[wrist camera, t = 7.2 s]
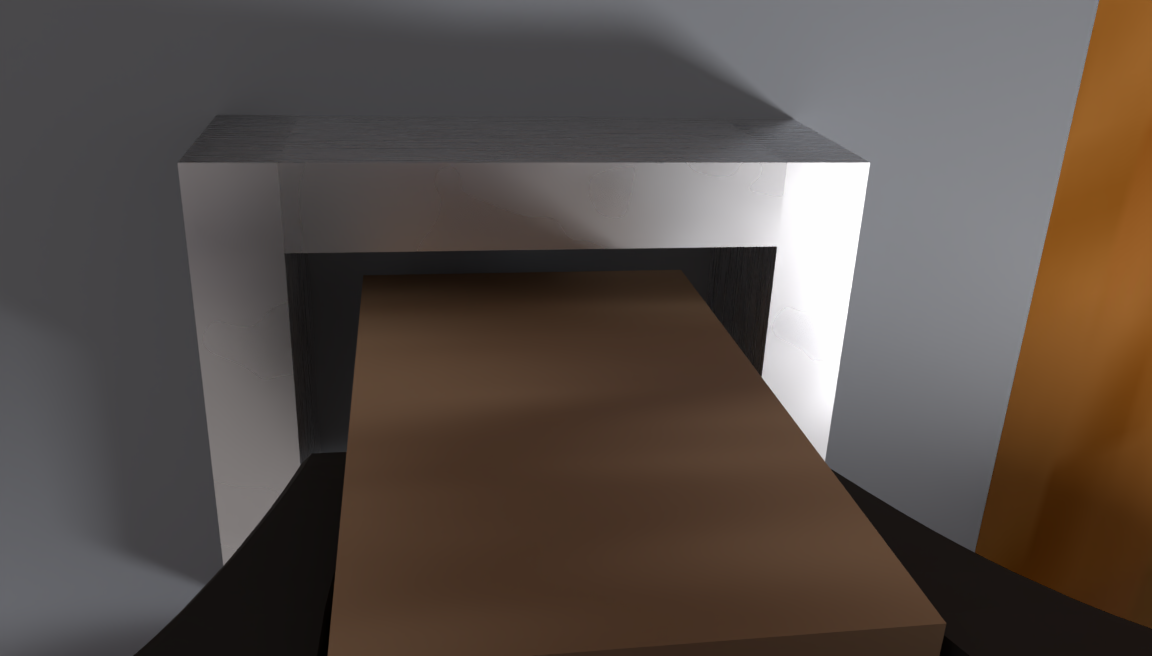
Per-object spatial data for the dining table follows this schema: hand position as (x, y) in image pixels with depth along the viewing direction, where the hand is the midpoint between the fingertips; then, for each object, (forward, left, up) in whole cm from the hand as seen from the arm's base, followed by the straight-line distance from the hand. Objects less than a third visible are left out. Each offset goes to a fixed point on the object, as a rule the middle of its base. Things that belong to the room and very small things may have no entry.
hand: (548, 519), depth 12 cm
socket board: (0, 0, -4) cm, 4 cm away
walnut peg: (0, 0, -2) cm, 2 cm away
